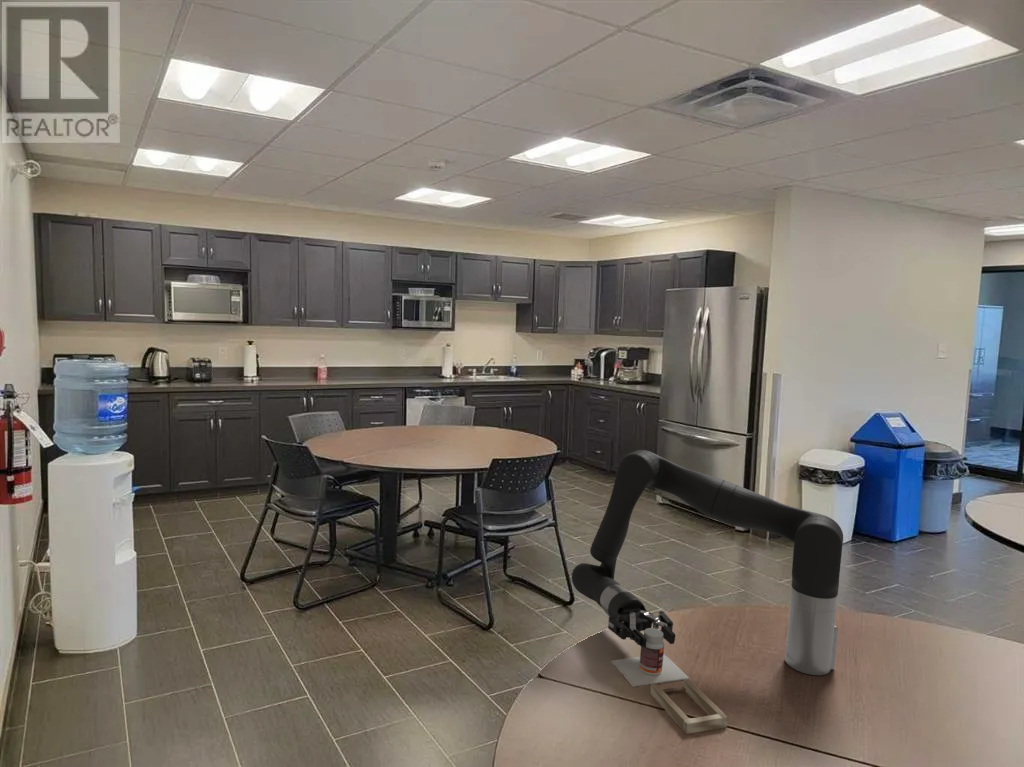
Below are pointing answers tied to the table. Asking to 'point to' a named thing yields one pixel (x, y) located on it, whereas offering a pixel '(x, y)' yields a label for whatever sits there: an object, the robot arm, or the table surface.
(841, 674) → the table surface
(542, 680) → the table surface
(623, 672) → the mat
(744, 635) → the table surface
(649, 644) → the pill bottle
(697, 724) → the wooden rectangular frame
